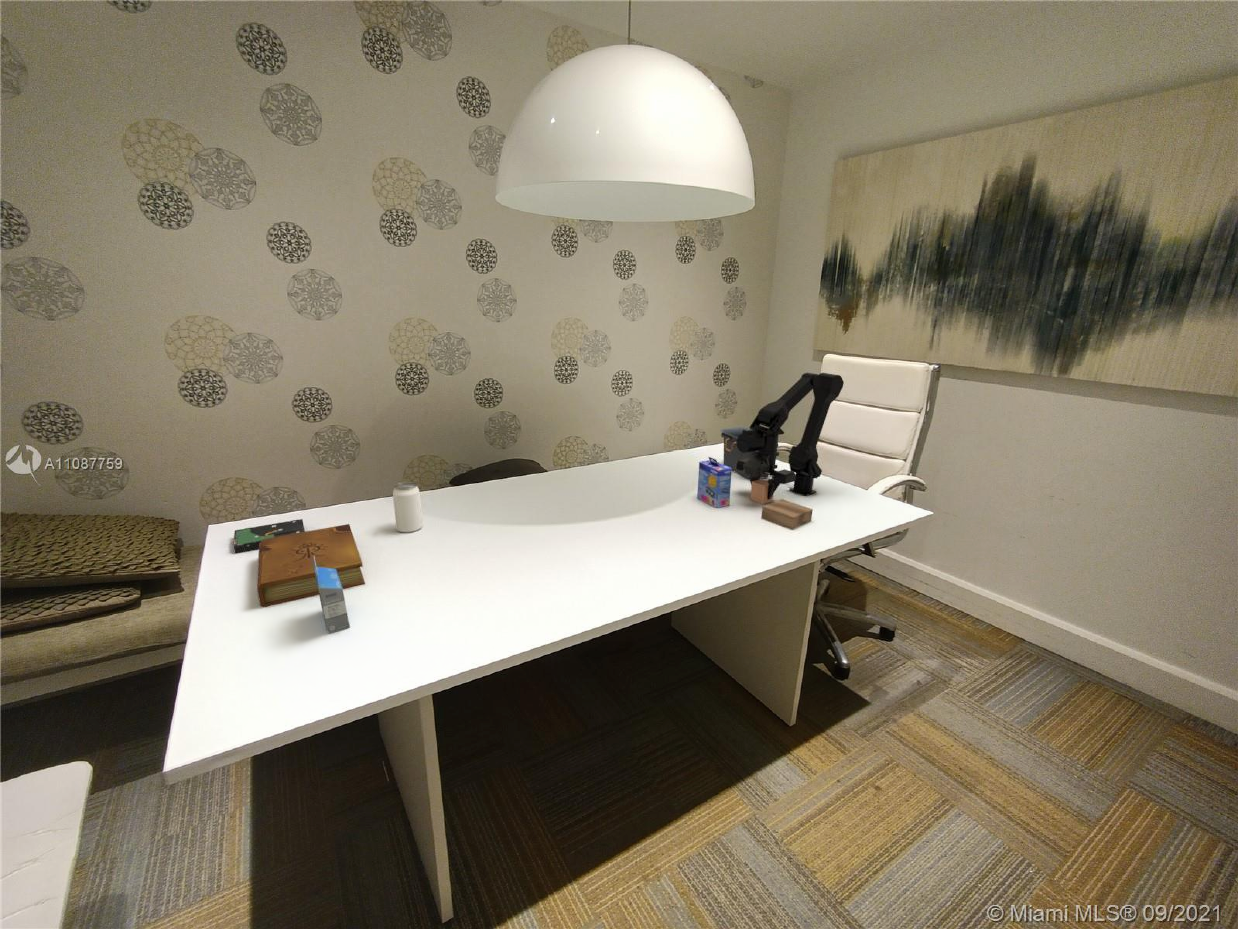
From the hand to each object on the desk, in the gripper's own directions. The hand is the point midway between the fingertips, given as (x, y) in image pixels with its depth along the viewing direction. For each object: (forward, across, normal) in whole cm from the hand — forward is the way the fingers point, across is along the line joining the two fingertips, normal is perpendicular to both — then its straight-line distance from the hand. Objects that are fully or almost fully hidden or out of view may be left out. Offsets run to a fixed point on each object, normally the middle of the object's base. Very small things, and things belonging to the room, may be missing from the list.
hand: (761, 496), depth 169 cm
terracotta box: (+1, 0, 0) cm, 1 cm away
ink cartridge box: (+2, -8, -14) cm, 16 cm away
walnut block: (+2, +14, -7) cm, 16 cm away
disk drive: (+2, -54, -126) cm, 137 cm away
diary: (+2, -30, -121) cm, 125 cm away
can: (+2, -41, -96) cm, 104 cm away
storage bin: (+2, -22, +18) cm, 28 cm away
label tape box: (+2, -7, -121) cm, 121 cm away
